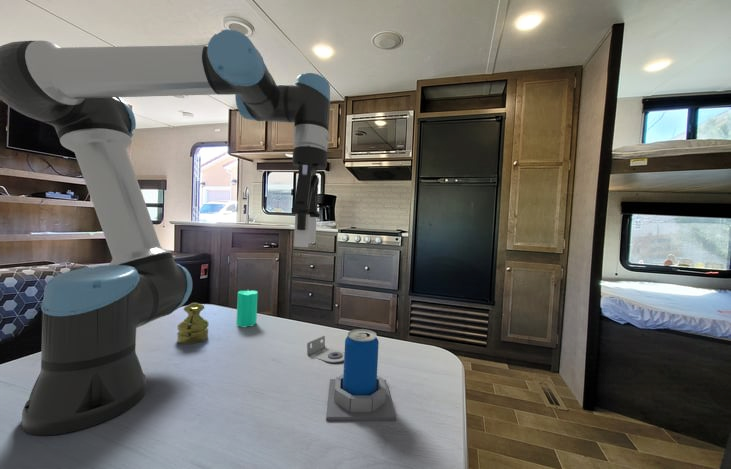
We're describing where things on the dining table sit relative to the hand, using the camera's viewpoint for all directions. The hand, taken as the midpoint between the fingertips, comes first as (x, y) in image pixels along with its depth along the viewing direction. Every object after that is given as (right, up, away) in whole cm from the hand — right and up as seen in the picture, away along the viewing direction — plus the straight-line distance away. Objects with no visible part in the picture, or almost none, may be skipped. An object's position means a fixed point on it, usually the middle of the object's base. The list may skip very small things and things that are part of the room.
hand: (305, 245), depth 62 cm
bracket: (+4, -29, +10) cm, 31 cm away
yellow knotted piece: (-35, -27, +15) cm, 46 cm away
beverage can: (+12, -29, -8) cm, 33 cm away
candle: (-26, -27, +29) cm, 47 cm away
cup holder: (+12, -30, -8) cm, 33 cm away
